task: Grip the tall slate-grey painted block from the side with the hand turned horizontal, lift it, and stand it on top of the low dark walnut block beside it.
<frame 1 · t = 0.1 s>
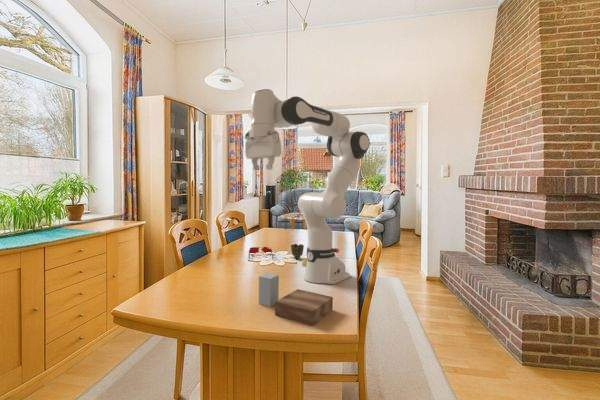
hand: (262, 169, 118), 48 cm above the table, tool pointing down, fingers open, 8 cm apart
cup: (297, 259, 177), on the table
slate block: (268, 303, 111), on the table
glasses: (260, 258, 179), on the table
bread roll: (310, 266, 163), on the table
walnut block: (304, 313, 103), on the table
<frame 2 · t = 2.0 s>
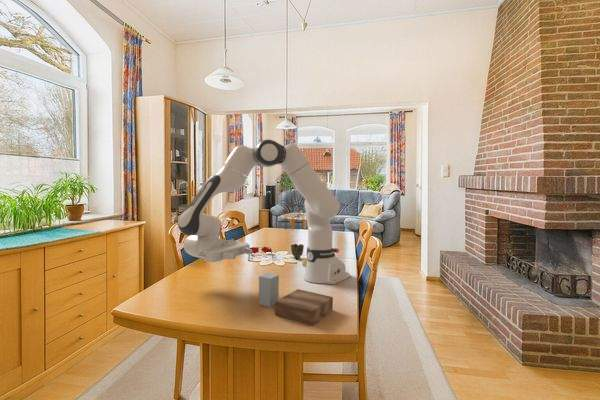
hand: (243, 254, 116), 16 cm above the table, tool horizontal, fingers open, 8 cm apart
nothing on the table moved.
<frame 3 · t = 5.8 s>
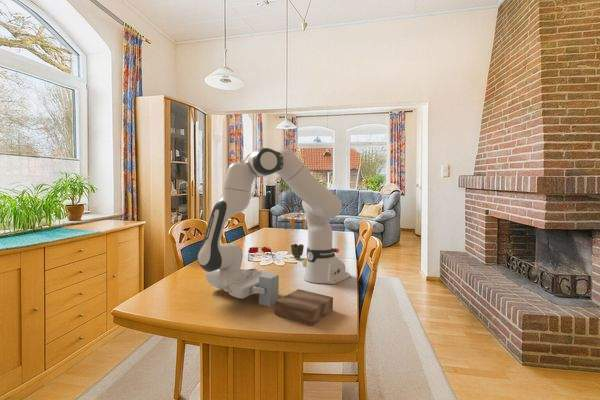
hand: (270, 288, 110), 6 cm above the table, tool horizontal, fingers closed on slate block, 5 cm apart
slate block: (268, 303, 111), on the table, touching gripper
everything else where it was.
when the fingers open (11 cm above the table, at t = 12.8 s): slate block drops 1 cm, resting on walnut block.
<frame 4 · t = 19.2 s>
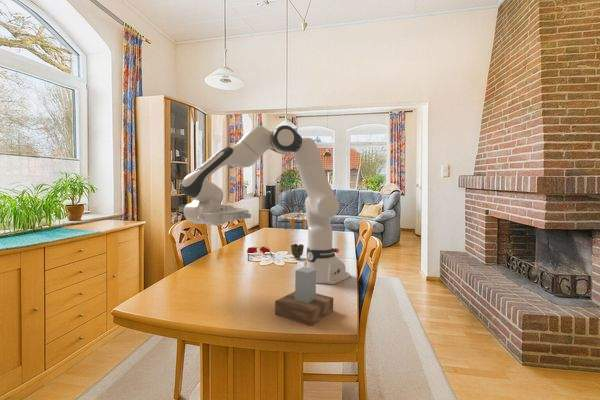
hand: (241, 217, 117), 30 cm above the table, tool horizontal, fingers open, 8 cm apart
slate block: (305, 299, 103), point 5 cm above the table, touching walnut block
walnut block: (304, 313, 104), on the table, touching slate block
at the end: slate block inside the target area on the walnut block (0.4 cm from its centre), point 5.0 cm above the walnut block's base; slate block tilted 1°; the gripper is holding nothing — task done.
